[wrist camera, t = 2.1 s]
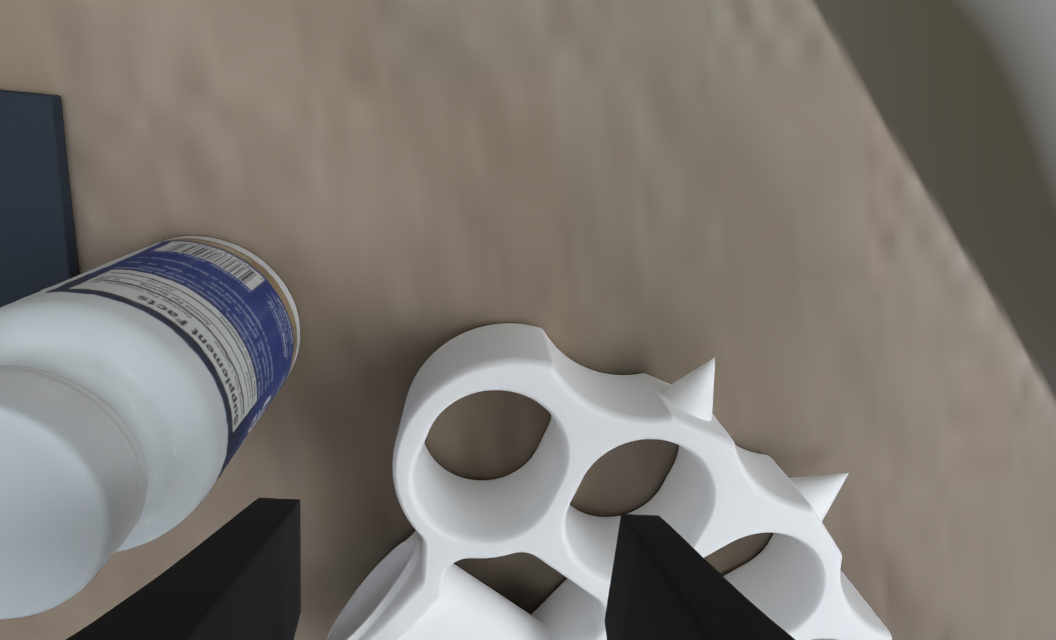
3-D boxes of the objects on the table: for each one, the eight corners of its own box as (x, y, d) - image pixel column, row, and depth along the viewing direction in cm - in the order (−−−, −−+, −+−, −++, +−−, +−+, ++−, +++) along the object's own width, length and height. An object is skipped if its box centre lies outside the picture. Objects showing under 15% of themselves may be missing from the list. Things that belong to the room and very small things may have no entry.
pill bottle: (174, 433, 21) (-76, 701, 11) (75, 274, 19) (-311, 435, 10) (336, 370, 20) (218, 590, 11) (251, 203, 19) (28, 298, 9)
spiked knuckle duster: (255, 554, 22) (552, 211, 19) (648, 795, 26) (932, 543, 24) (218, 631, 19) (567, 232, 16) (671, 890, 23) (1003, 610, 21)
